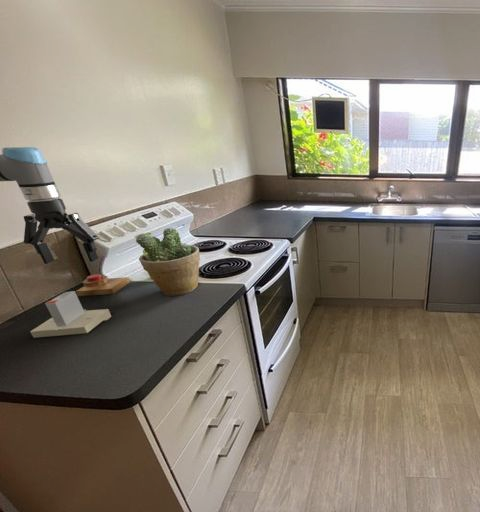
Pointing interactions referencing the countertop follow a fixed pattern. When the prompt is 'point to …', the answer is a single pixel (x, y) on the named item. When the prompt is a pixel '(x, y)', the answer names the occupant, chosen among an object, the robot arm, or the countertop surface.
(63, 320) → the white rectangular box
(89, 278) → the button
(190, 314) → the countertop surface
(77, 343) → the countertop surface
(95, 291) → the button block
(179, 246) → the potted plant
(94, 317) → the plate
